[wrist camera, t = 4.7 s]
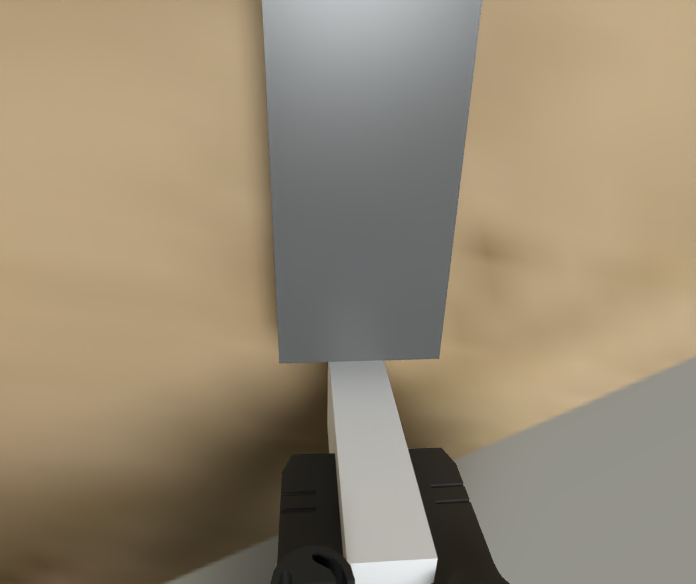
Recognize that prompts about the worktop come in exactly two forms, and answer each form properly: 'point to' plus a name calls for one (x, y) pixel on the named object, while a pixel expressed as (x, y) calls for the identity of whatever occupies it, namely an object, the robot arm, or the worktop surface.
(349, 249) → the plug
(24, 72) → the worktop surface
